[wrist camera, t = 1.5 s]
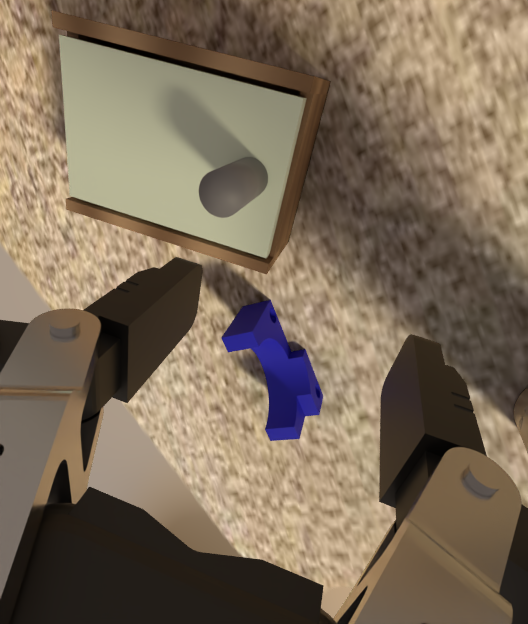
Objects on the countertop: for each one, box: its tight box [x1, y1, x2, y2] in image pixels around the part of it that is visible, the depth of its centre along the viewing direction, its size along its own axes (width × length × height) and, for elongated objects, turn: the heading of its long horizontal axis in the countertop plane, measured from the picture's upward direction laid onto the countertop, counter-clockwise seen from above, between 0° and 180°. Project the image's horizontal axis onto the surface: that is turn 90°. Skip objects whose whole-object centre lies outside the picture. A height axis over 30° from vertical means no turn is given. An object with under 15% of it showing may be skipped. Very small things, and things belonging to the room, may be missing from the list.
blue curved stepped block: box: [222, 300, 323, 441], centre depth 36 cm, size 12×4×6 cm, turn 22°
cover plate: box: [59, 35, 307, 258], centre depth 22 cm, size 15×10×6 cm, turn 78°
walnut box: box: [51, 10, 330, 274], centre depth 27 cm, size 16×12×7 cm
